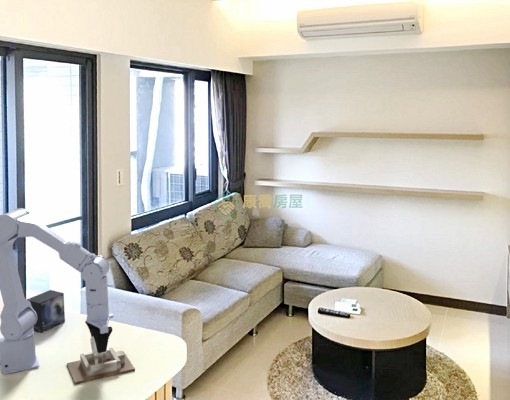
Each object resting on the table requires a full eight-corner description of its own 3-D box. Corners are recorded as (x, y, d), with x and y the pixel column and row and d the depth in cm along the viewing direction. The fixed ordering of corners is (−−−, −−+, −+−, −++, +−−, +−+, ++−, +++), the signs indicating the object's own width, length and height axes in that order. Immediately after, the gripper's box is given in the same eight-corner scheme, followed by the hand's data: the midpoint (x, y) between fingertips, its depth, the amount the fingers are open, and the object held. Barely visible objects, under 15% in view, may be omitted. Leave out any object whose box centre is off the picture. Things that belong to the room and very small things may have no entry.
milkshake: (105, 371, 149) (104, 336, 147) (88, 368, 151) (86, 334, 149) (114, 363, 154) (112, 330, 152) (97, 361, 155) (95, 327, 153)
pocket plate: (75, 384, 144) (74, 373, 143) (66, 365, 154) (66, 354, 153) (134, 370, 151) (134, 360, 150) (123, 353, 161) (122, 343, 161)
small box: (42, 334, 174) (39, 302, 172) (27, 330, 177) (24, 299, 175) (66, 322, 184) (64, 292, 182) (51, 318, 186) (49, 289, 184)
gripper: (118, 307, 144) (121, 355, 147) (105, 291, 157) (108, 335, 160) (91, 312, 141) (94, 361, 144) (80, 295, 154) (83, 340, 156)
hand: (99, 348), depth 151 cm, fingers closed on milkshake, 4 cm apart
